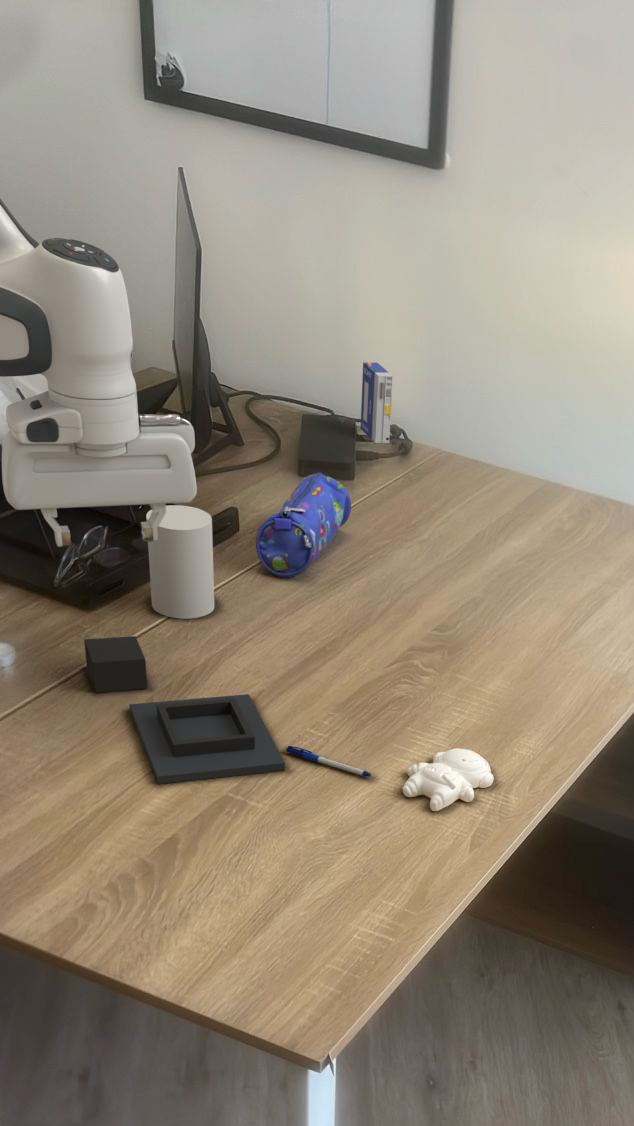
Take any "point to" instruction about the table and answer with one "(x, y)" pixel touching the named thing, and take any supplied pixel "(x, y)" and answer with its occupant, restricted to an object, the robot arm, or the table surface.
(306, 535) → the pencil case
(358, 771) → the ballpoint pen
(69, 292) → the robot arm
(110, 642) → the black box
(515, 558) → the table surface
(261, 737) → the socket base plate
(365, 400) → the walkman
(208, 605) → the cup
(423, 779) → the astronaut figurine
